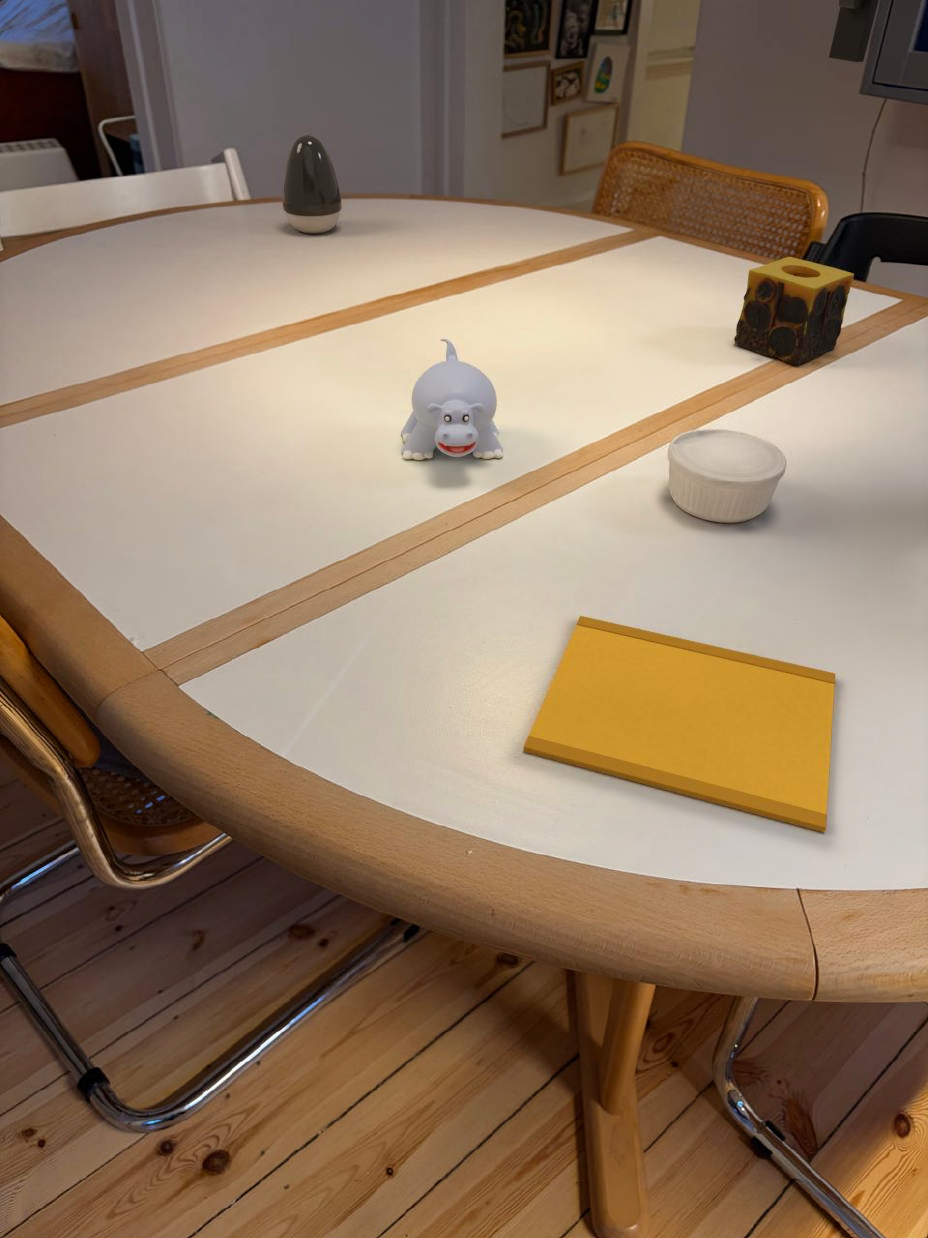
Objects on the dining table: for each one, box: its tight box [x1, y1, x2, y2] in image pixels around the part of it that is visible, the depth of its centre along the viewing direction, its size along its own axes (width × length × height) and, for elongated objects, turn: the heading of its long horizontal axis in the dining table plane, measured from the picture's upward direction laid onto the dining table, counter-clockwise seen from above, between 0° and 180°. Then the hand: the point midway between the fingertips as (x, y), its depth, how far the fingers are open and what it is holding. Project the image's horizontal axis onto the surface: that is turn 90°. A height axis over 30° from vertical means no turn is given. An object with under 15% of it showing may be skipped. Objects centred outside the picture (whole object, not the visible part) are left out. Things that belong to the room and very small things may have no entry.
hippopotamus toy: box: [400, 338, 504, 461], centre depth 97 cm, size 11×15×10 cm
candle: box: [733, 256, 855, 366], centre depth 122 cm, size 10×10×10 cm
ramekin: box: [667, 428, 787, 524], centre depth 91 cm, size 11×11×5 cm
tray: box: [522, 615, 837, 833], centre depth 68 cm, size 20×16×1 cm
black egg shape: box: [282, 133, 343, 235], centre depth 161 cm, size 10×10×15 cm
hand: (903, 56), depth 75 cm, fingers open, 13 cm apart
